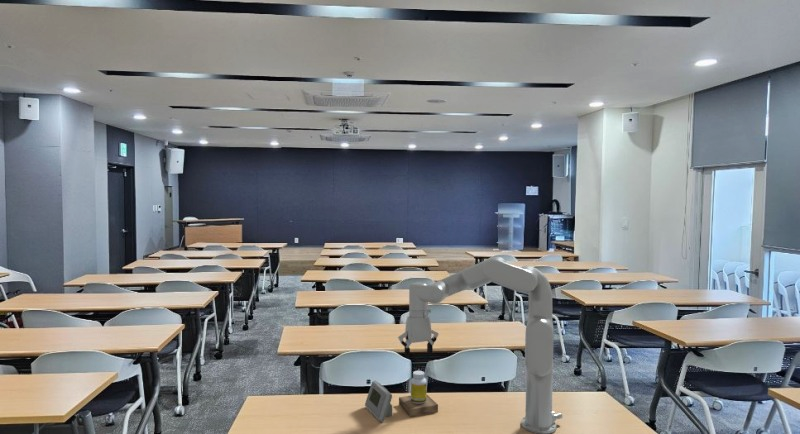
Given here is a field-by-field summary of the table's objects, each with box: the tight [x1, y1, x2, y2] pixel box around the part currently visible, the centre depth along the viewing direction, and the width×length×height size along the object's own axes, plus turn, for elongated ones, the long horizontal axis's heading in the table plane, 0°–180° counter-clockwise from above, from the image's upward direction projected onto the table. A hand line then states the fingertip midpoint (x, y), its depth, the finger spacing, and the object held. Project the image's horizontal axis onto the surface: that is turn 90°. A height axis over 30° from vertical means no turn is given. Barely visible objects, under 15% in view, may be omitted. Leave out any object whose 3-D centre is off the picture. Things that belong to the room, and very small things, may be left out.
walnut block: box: [398, 394, 439, 418], centre depth 187 cm, size 12×12×3 cm
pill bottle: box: [410, 370, 428, 404], centre depth 187 cm, size 6×6×12 cm
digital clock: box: [364, 380, 393, 423], centre depth 182 cm, size 16×9×11 cm, turn 15°
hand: (418, 355), depth 186 cm, fingers open, 9 cm apart
